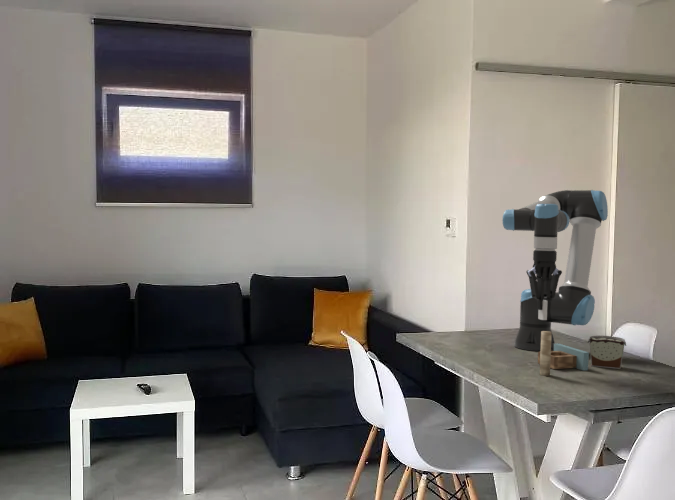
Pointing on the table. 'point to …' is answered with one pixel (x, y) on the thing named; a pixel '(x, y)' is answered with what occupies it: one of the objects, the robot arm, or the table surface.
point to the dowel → (545, 353)
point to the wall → (581, 355)
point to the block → (561, 360)
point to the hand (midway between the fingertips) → (542, 319)
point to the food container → (606, 351)
